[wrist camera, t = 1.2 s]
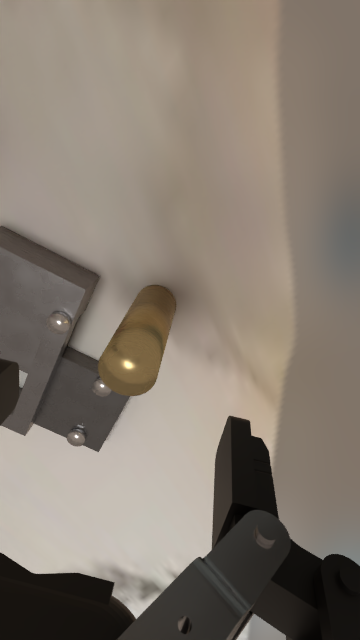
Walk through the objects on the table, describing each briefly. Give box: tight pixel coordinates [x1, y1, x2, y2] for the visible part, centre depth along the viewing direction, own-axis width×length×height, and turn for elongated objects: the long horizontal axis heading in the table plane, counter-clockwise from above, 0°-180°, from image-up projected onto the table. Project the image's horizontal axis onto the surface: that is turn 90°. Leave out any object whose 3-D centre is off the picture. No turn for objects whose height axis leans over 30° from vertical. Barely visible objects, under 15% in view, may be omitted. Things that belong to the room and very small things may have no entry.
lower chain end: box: [18, 346, 130, 452], centre depth 37 cm, size 18×10×3 cm, turn 63°
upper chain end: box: [0, 226, 100, 436], centre depth 34 cm, size 10×19×5 cm, turn 153°
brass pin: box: [98, 285, 176, 396], centre depth 28 cm, size 4×4×12 cm
